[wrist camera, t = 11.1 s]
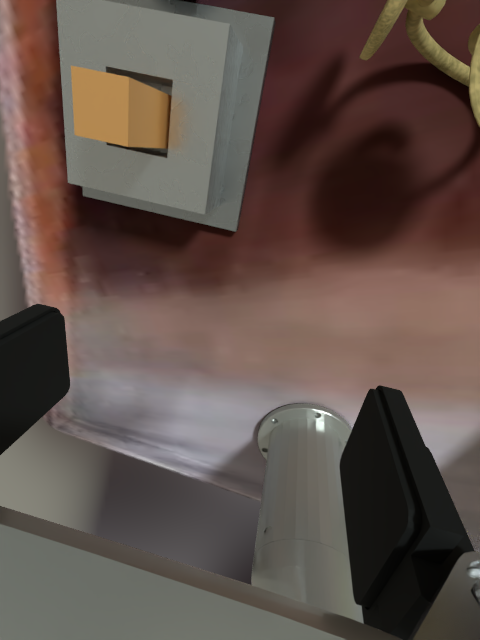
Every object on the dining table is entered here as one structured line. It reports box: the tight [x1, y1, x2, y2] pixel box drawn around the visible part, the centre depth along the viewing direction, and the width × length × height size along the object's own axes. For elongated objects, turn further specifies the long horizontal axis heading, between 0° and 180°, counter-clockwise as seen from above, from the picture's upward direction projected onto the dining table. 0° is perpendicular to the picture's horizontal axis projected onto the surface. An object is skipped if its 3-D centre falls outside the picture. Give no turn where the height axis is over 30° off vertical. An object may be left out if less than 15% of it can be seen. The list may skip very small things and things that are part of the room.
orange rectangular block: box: [71, 66, 172, 149], centre depth 24 cm, size 4×4×10 cm
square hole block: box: [56, 0, 275, 232], centre depth 27 cm, size 16×16×6 cm
